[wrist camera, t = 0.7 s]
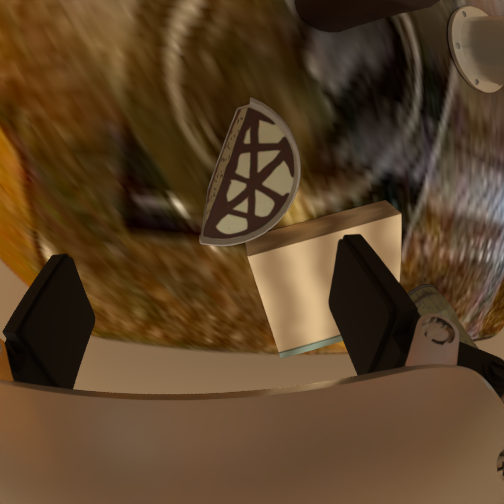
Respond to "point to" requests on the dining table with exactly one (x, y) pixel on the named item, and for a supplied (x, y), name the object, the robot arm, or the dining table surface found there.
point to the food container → (251, 177)
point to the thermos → (437, 308)
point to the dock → (315, 271)
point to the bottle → (353, 11)
